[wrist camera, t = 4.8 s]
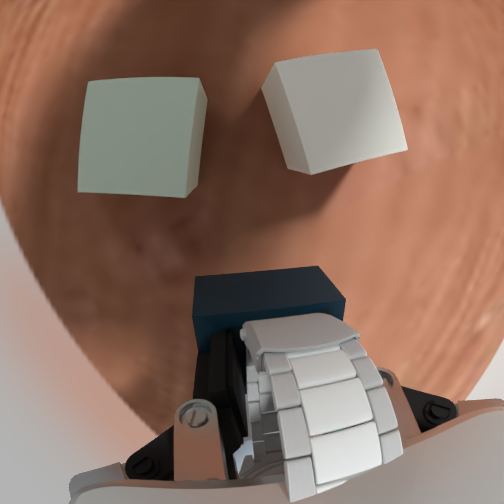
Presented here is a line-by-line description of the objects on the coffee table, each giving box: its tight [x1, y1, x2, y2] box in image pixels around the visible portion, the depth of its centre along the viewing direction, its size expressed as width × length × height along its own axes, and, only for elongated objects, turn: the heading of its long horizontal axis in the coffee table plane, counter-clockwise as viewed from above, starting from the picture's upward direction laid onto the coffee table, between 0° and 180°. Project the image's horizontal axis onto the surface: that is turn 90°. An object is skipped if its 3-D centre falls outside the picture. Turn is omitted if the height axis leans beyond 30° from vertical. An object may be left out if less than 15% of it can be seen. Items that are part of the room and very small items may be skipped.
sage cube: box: [78, 77, 208, 198], centre depth 13 cm, size 5×5×5 cm
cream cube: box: [261, 49, 408, 175], centre depth 13 cm, size 5×5×5 cm
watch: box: [192, 266, 403, 502], centre depth 8 cm, size 6×8×11 cm
